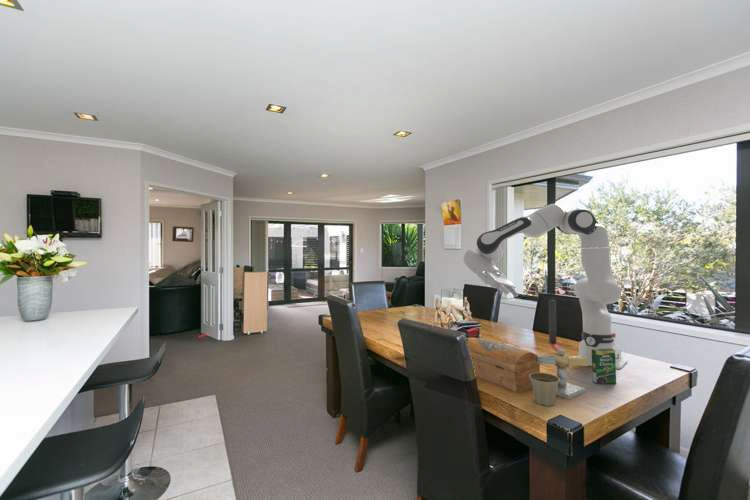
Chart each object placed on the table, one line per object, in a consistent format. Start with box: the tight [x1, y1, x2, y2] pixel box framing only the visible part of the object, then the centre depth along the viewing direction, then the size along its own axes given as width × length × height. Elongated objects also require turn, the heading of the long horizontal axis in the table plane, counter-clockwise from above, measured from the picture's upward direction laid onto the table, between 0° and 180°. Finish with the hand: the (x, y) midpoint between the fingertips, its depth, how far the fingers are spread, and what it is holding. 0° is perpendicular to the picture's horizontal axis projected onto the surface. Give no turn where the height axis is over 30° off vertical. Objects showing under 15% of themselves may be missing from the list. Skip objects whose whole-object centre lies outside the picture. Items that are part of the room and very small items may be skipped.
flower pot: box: [529, 372, 560, 407], centre depth 120 cm, size 9×9×9 cm
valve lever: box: [548, 299, 566, 355], centre depth 136 cm, size 14×3×18 cm, turn 168°
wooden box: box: [467, 336, 541, 394], centre depth 145 cm, size 30×16×14 cm, turn 32°
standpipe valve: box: [535, 352, 589, 400], centre depth 130 cm, size 14×14×13 cm
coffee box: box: [591, 348, 617, 385], centre depth 137 cm, size 8×3×13 cm, turn 91°
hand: (512, 294), depth 154 cm, fingers open, 8 cm apart
